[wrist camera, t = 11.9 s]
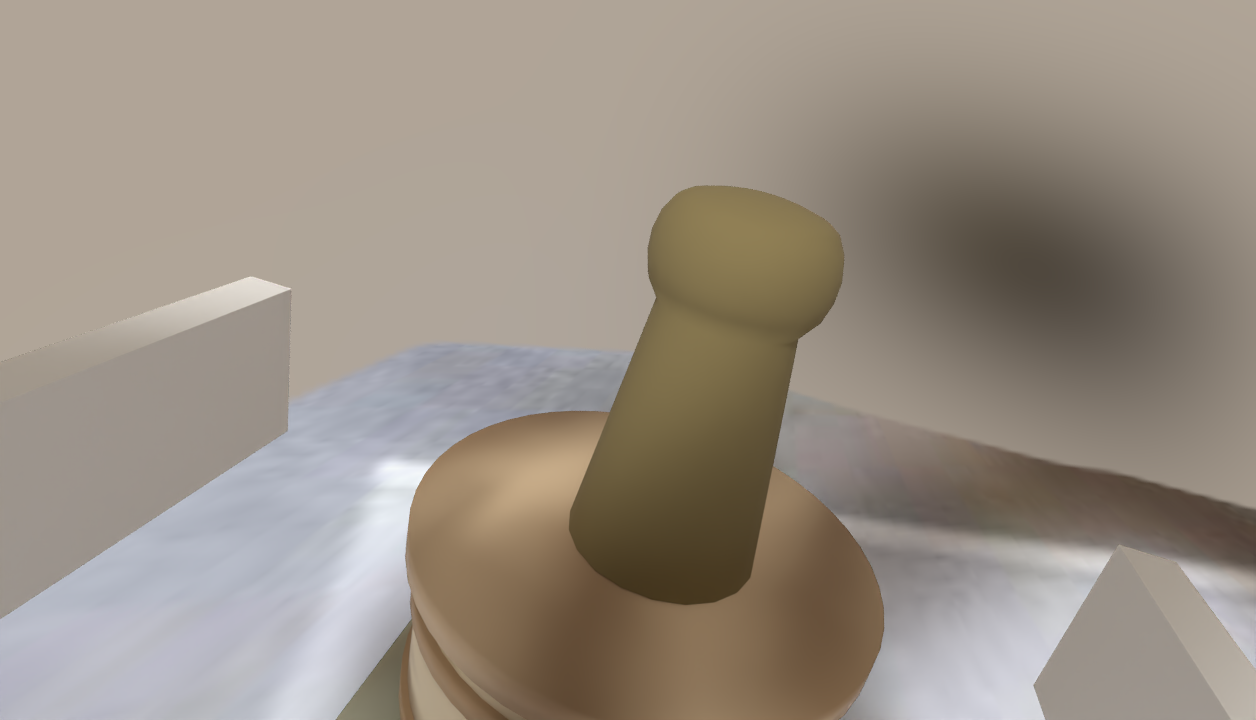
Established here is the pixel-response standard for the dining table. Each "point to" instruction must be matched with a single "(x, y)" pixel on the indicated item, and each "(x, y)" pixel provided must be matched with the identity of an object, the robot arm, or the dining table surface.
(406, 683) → the stack of pancakes
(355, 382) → the dining table surface
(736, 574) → the cork
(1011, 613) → the dining table surface
